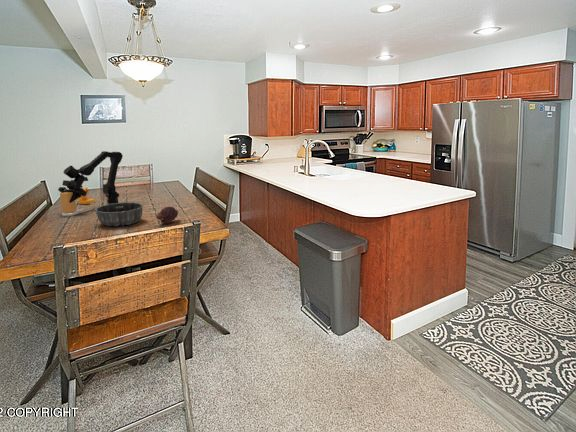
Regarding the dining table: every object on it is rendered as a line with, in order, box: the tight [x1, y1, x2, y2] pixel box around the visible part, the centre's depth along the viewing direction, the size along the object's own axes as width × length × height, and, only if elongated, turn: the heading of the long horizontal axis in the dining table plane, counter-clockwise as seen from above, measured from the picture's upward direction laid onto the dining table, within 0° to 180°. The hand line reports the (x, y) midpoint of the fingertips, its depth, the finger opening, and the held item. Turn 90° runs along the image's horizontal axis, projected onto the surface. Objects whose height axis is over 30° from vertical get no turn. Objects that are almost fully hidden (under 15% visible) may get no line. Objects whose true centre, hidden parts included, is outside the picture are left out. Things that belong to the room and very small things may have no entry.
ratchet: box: [61, 206, 94, 218], centre depth 253 cm, size 22×9×5 cm, turn 163°
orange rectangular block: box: [59, 192, 77, 213], centre depth 246 cm, size 6×6×12 cm
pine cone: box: [155, 206, 179, 225], centre depth 226 cm, size 18×10×10 cm, turn 157°
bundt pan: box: [94, 201, 144, 227], centre depth 226 cm, size 26×26×10 cm
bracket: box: [77, 187, 95, 205], centre depth 282 cm, size 11×7×12 cm, turn 4°
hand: (66, 202), depth 245 cm, fingers closed on orange rectangular block, 6 cm apart
